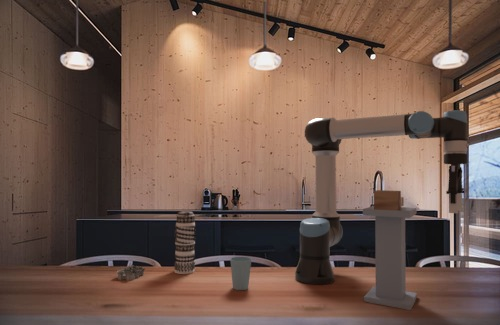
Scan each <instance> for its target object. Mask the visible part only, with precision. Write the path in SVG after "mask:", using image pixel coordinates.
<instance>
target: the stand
mask: <svg viewBox="0 0 500 325" xmlns="http://www.w3.org/2000/svg"><path fill="white" fill-rule="evenodd" d="M417 210H418V209H417V207H404V206H402V207H401V209H400V210H398V211H393V210H374V205H372V206H369V207H365V208H362V216H373V217H374V218H375V221H374V222H375V227H374V228H375V232H374V233H375V234H374V235H375V285H373V286H371V289H369V290H368V292H366V294H365V295H364V296H363V302H366V303H369V304H377V305H381V306H386V307H387V306H388V307H392V308H398V309H403V310H408V311H412V309H413V306H414V304H415V302H416V300H417V298H418V296H417V295H418V293H417V292H413V291H407V290H406V289H407V287H406V278H407V276H406V275H407V274H406V269H407V268H406V219H410V218H412V217H414V216H415V215H417Z"/></svg>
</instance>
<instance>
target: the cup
mask: <svg viewBox="0 0 500 325" xmlns="http://www.w3.org/2000/svg"><path fill="white" fill-rule="evenodd" d="M251 268H252V258H251V257H248V256H233V257H230V269H231V272H230V273H231V279H232V280H231V282H232V289H233V290H235V291H245V290H248V289H249V284H250V275H251Z"/></svg>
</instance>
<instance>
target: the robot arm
mask: <svg viewBox="0 0 500 325" xmlns="http://www.w3.org/2000/svg"><path fill="white" fill-rule="evenodd" d="M467 115H468V114H467V112H466V111H464V110H462V109H457V110H455V109H453V110H447V111H444V112H443V115H442V116H441V117H433V115H431V114H430V113H428V112H427V111H424V110H423V111H422V110H420V111H416V112H414V113H408V114H407V113H405V114H404V113H403V114H393V115H392V114H391V115H381V116H380V115H379V116H370V117H358V118H357V117H355V118H346V119H345V118H344V119H343V118H342V119H336V118H335V117H323V118H322V117H319V118H314V119H311V120H310V121H309V122H308V123H307V124H306V126H305V128H304V138H305V140H306V141H307V143H309V144H310V145H311V153H312V154H313V156H315V211H314V213H312V214H311V217H310V218H309V217H308V218H304V219H302V220H301V222H300V224H299V225H300V226H299V260H298V263H297V266H296V269H295V272H294V274H295V276H294V278H295V280H297V281H298V282H300V283H304V284H310V285H328V284H331V283H333V282H334V281H335V274H334V273H335V272H334V271H333V270H334V269H333V267H332V263H331V260H330V258H331V256H330V253H331V252H330V248H331V247H334V246H336V245H337V244H338V243H339V242H340V241H341V239H342V237H343V235H344V234H343V230H344V229H343V226H342V224H341V221H340V220H341V218H340V214H339V213H338V212H337V186H336V185H337V184H336V183H337V181H336V180H337V179H336V178H337V176H336V175H337V174H336V173H337V171H336V170H337V166H336V165H337V163H336V161H337V160H336V158H337V155H338V154H339V153H340V144H341V143H342V140H346V139H348V140H349V139H363V138H364V139H365V138H381V137H397V136H398V137H399V136H408V138H409V139H417V140H419V139H435V138H436V139H439V138H443V146H442V147H443V150H442V151H443V153H444V155H443V164H444V165H449V166H448V186H447V187H448V188H447V190H446V195H448V213H449V214H459V212H463V194H465V190H463V169H462V166H461V165H467V164H468V154H467V152H468V147H469V146H470V144H469V143H468V116H467Z"/></svg>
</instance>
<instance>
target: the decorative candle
mask: <svg viewBox="0 0 500 325" xmlns="http://www.w3.org/2000/svg"><path fill="white" fill-rule="evenodd" d="M175 216H176V222H175V225H174V226H173V227H174V229H175V230H174V237H175V239H174V244H175V251H174V252H175V254H174V257H175V258H174V261H175V262H174V263H173V264H174V267H173V269H174V273H175V274H177V275H178V274H179V275H189V274H192V273H195V268H196V267H195V265H196V262H195V259H196V258H195V257H196V253H195V244H196V240H197V238H196V236H197V235H196V234H195V233H196V232H197V229H196V228H197V225H196V222H195V218H196V215H195V214H194V212H193V211H191V210H188V211H187V210H183V211H182V210H181V211H179V212H177V214H176V215H175Z"/></svg>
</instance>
